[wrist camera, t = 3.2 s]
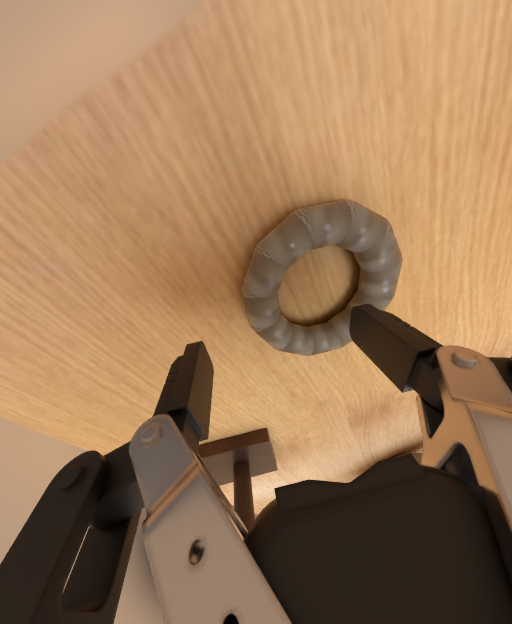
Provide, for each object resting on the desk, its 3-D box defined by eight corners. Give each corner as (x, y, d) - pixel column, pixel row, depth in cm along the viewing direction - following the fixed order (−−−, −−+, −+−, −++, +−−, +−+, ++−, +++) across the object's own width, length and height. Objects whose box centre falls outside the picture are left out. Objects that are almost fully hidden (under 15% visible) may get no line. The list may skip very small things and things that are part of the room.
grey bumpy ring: (256, 354, 17) (261, 374, 15) (225, 222, 11) (225, 225, 9) (370, 326, 17) (390, 342, 15) (396, 186, 12) (433, 181, 10)
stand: (218, 473, 28) (212, 664, 16) (198, 445, 23) (170, 686, 11) (275, 458, 28) (310, 635, 16) (267, 428, 23) (308, 644, 12)
